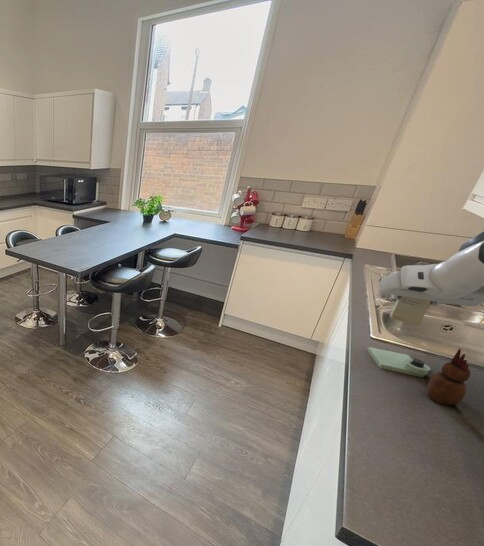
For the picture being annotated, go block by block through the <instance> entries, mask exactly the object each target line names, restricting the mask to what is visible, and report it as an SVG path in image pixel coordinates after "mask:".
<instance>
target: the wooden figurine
mask: <svg viewBox="0 0 484 546" xmlns="http://www.w3.org/2000/svg"><path fill="white" fill-rule="evenodd" d="M461 351H462V348H459V349H458V350H457V351H456V353H455V355H454V356H453V357H452V359H451V361H448V362H446V363H444V364H443V365H442V367H441V370H440V371H439V372H436V373H434V374H433V375H432V376H431V377H430V379H429V380H428V384H427V388H426V393H427V396H428V397H429V398H430V399H431V400H433V401H434V402H436V403H438V404H439V405H443V406H453V405H455V404H458V403H460V402H461V401H462V400H463V399H464V398H465V396H466V393H467V386H466V383H465V382H467V381H468V380H469V379H470V377H471V370H470V369H469V366H470V365H469V364H467V363H468V360H467V359H465V358H466V354H465V353H463V354H462V355H461Z"/></svg>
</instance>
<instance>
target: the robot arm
mask: <svg viewBox="0 0 484 546" xmlns="http://www.w3.org/2000/svg"><path fill="white" fill-rule="evenodd" d="M458 249H459V250H458V251H457V252H456V253H455V254H453V255H452V256H450V257H449V258H448V259H447V260H445V261H441V262H439V263H431V264H417V265H415V264H414V265H413V264H410V265H407V264H406V265H404V266H402V267H401V268H400V270H398V271H394V272H391V273H390V274H388V275H387V276H385V277H383V278H382V279H381V280H380V281H379V284H378V285H379V286H378V288H379V291H380V293H381V294H385V295H390V297H391V298H390V299H391V300H396V301H397V300H399V299H401V296H404V297H411V298H417V299H424V300H431V301H432V302H431V303H430V305H429V306H434V307H436V306H439V305H446V304H447V305H448V304H450V305H451V304H452V305H457V306H464V307H477V306H479V305H481V304H483V303H484V231H482V232H480V233H479V234H476V236H474V237H473V238H471V239H469V240H467V241H466V242H464V243H463V244H461V245H460V247H459V248H458Z"/></svg>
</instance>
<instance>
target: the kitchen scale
mask: <svg viewBox="0 0 484 546" xmlns="http://www.w3.org/2000/svg"><path fill="white" fill-rule="evenodd" d="M367 352H368V354H369V355H370V356H371V358H372V360H373V361H374V362H375V363H376V365H377V366H378V367H379V368H380V369H383V370H387V371H392V372H396V373H397V372H398V373H400V374H401V373H402V374H405V375H410V376H414V377H418V378H425V376H426V375H428V374H429V372H430V370H431V367H430V366H429V365H428V364H427V363H425V364H424V366H423V368H420V367H416V366H414V365H412V364H411V362H412V361H413V358H411V356H410V355H409V354H405V353H400V352H396V351H390V350H385V349H381V348H376V347H370V346H368V347H367Z"/></svg>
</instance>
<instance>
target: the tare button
mask: <svg viewBox="0 0 484 546" xmlns="http://www.w3.org/2000/svg"><path fill="white" fill-rule="evenodd" d="M412 360H413V361H412V362H411V364H412V365H414V366H416V367H420V368H423V366H424V364H426V363H425V361H423V360H421V359H418V358H412Z"/></svg>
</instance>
